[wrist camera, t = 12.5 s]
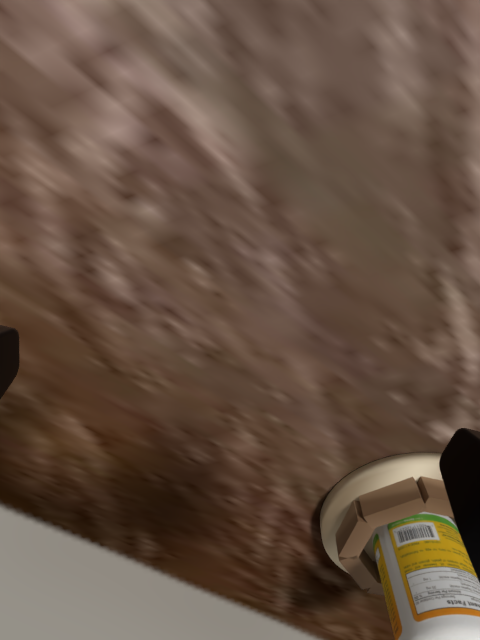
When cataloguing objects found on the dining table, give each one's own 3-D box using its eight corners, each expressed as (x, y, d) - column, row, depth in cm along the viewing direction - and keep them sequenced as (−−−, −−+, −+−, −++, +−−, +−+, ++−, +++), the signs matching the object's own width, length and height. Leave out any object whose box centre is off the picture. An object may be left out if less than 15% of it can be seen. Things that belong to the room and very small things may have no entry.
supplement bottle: (417, 567, 30) (479, 760, 21) (353, 540, 29) (391, 731, 20) (474, 524, 28) (569, 720, 19) (407, 492, 27) (475, 685, 18)
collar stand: (298, 555, 32) (300, 590, 29) (356, 434, 26) (364, 466, 24) (454, 586, 32) (467, 622, 30) (543, 475, 27) (568, 510, 25)
